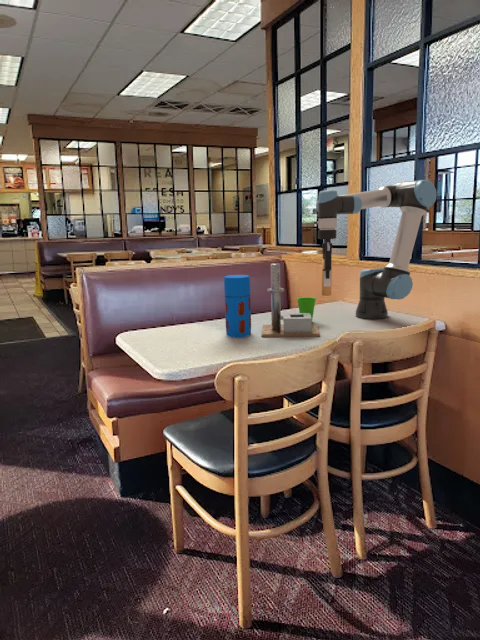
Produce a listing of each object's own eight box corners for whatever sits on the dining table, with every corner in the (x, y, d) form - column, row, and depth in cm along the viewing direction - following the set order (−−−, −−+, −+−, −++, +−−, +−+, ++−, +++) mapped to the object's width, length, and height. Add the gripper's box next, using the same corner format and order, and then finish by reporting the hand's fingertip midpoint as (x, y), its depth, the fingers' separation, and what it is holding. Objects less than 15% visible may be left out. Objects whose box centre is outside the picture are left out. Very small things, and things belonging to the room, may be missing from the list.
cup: (315, 319, 233) (315, 296, 231) (316, 323, 224) (316, 300, 222) (296, 319, 234) (296, 297, 232) (297, 323, 225) (296, 300, 223)
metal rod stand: (316, 326, 218) (316, 261, 212) (319, 336, 201) (319, 265, 195) (263, 327, 220) (261, 262, 214) (261, 337, 203) (260, 267, 197)
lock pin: (330, 294, 208) (331, 259, 205) (331, 295, 204) (332, 259, 201) (321, 294, 209) (321, 259, 206) (322, 295, 205) (322, 260, 202)
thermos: (254, 332, 212) (253, 274, 207) (246, 338, 202) (245, 278, 197) (231, 331, 215) (229, 274, 210) (222, 336, 205) (220, 277, 200)
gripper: (316, 228, 210) (316, 282, 214) (319, 229, 193) (319, 288, 198) (334, 228, 209) (333, 282, 214) (339, 229, 192) (337, 288, 197)
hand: (326, 285), depth 206 cm, fingers closed on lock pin, 4 cm apart
